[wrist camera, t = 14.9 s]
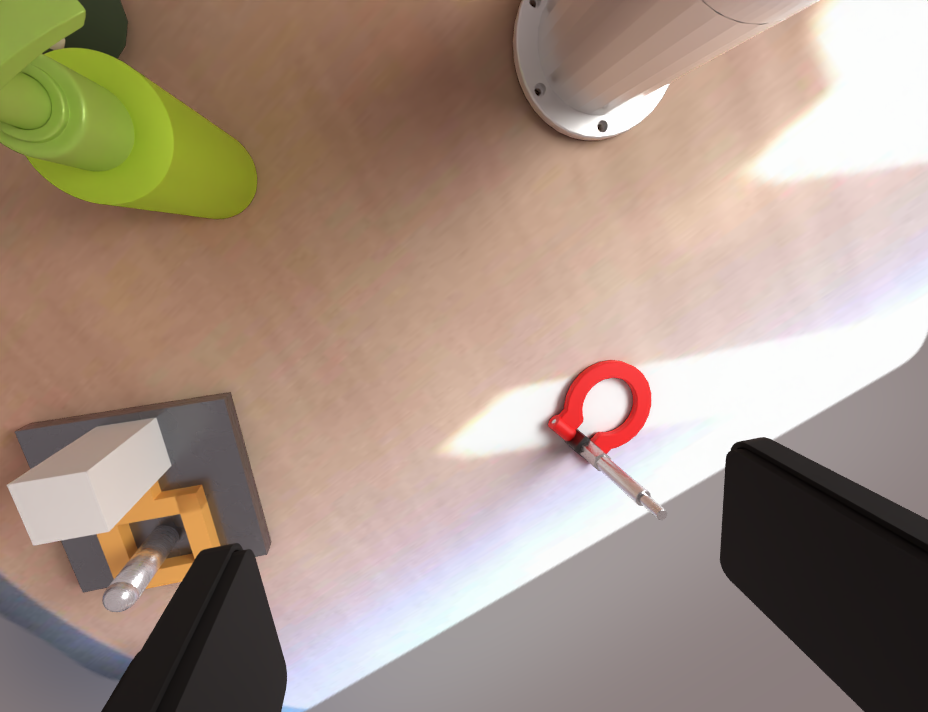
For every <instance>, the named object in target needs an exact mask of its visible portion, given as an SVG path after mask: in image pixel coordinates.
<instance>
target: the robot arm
mask: <svg viewBox="0 0 928 712" xmlns="http://www.w3.org/2000/svg"><path fill="white" fill-rule="evenodd" d="M818 1H820V0H521V3H520V5H519V9H518V13H517V16H516V20H515V25H514V36H513V52H514V63H515V67H516V72H517V76H518V80H519V83H520V85H521V87H522V90H523V92H524V94H525V97H526V98H527V100H528V101H529V103H530V105H531V106H532V108H533V109H534V111H535V112H536V113H537V114H538V115H539V116H540V117H541V118H542V119H543V120H544V121H545V122H546V123H547V124H548V125H550V126H551V127H552V128H554V129H555V130H557V131H558V132H560V133H562V134H565V135H567V136H569V137H572V138H576V139H581V140H603V139H607V138H611V137H615V136H617V135H619V134H621V133H624V132H626V131H628V130H630V129H631V128H633V127H634V126H636V125H638V124H639V123H641V122H642V121H643V120H644V119H645V118H646V117H647V116H648V115H649V114H650V113H651V112H652V111H653V110H654V109H655V107H656V106H657V105H658V103H659V102H660V101H661V99H662V98H663V96H664V94H665V92H666V90H667V89H668V87H669V84H670V83H671V82H673V81H675V80H677V79H678V78H680V77H682V76H684V75H686V74H688V73H689V72H691V71H693V70H695V69H697V68H698V67H700V66H702V65H704V64H706V63H708V62H709V61H711V60H713V59H715V58H717V57H718V56H720V55H722V54H724V53H726V52H727V51H729V50H731V49H733V48H735V47H737V46H738V45H740V44H742V43H744V42H746V41H747V40H749V39H751V38H753V37H755V36H757V35H758V34H760V33H762V32H764V31H766V30H767V29H769V28H771V27H773V26H775V25H777V24H778V23H780V22H782V21H784V20H786V19H787V18H789V17H791V16H793V15H795V14H797V13H798V12H800V11H802V10H803V9H805V8H807V7H809V6H811V5H813V4H814V3H816V2H818ZM530 3H532V4H533V5H534V7H532V6H531V5H530ZM534 90H537V91H538V92H539V96H537V95H536V94H535V91H534ZM597 126H599V128H600V131H598V129H597ZM720 563H721V566H722V569H723V571H724V573H725V574H726V576H727V577H728V578H729V580H730V581H732V583H734V584H735V585H736V587H738V588H739V589H740V590H741V591H742V592H743V593H744V594H745V595H746V596H747V597H748V598H749V599H750V600H751V601H752V602H753V603H754V604H755V605H756V606H757V607H758V608H759V609H760V610H761V611H762V612H763V613H764V614H765V615H766V616H767V617H768V618H769V619H770V620H771V621H772V622H773V623H774V624H775V625H776V626H777V627H778V628H779V629H780V630H782V631H783V632H784V633H785V634H786V635H787V636H788V637H789V638H790V639H791V640H792V641H793V642H794V643H795V644H796V645H797V646H798V647H799V648H800V649H801V650H802V651H803V652H804V653H805V654H806V655H807V656H808V657H809V658H810V659H811V660H812V661H813V662H814V663H815V664H816V665H817V666H818V667H819V668H820V669H821V670H822V671H823V672H824V673H825V674H826V675H827V676H829V677H830V678H831V679H832V680H833V681H834V682H835V683H836V684H837V685H838V686H839V687H840V688H841V689H842V690H843V691H844V692H845V693H846V694H847V695H848V696H849V697H850V698H851V699H852V700H853V701H854V702H855V703H856V704H857V705H858V706H859V707H860V708H861V709H862V710H863V711H864V712H928V520H927V519H925V518H923V517H921V516H920V515H918V514H916V513H914V512H912V511H910V510H908V509H906V508H904V507H902V506H900V505H898V504H896V503H894V502H892V501H890V500H888V499H886V498H884V497H882V496H880V495H879V494H877V493H875V492H873V491H871V490H869V489H867V488H865V487H863V486H861V485H859V484H857V483H855V482H853V481H851V480H849V479H847V478H845V477H843V476H841V475H839V474H837V473H835V472H834V471H831V470H830V469H828V468H826V467H824V466H822V465H820V464H818V463H816V462H814V461H812V460H810V459H808V458H806V457H804V456H802V455H800V454H798V453H796V452H794V451H793V450H791V449H789V448H787V447H785V446H783V445H781V444H779V443H777V442H775V441H773V440H771V439H768V438H765V437H762V438H756V439H751V440H746V441H741V442H737V443H735V444H734V445H733V446H732V448H731V451H730V452H728V454H727V456H726V465H725V483H724V500H723V517H722V533H721V552H720ZM286 684H287V670H286V664H285V660H284V656H283V653H282V649H281V646H280V642H279V639H278V635H277V632H276V628H275V625H274V621H273V618H272V614H271V611H270V607H269V604H268V600H267V597H266V593H265V590H264V586H263V583H262V579H261V576H260V572H259V569H258V565H257V562H256V558H255V555H254V553H253V551H252V550H251V549H247V550H243V548H242V546H241V545H240V544H239V543H233V544H228V545H223V546H218V547H213V548H208V549H204V550H202V551H200V552H199V554H198V555H197V556H196V558H195V560H194V562H193V563H192V565H191V567H190V568H189V570H188V572H187V573H186V575H185V577H184V578H183V580H182V582H181V584H180V585H179V587H178V589H177V590H176V592H175V594H174V595H173V597H172V599H171V600H170V602H169V604H168V606H167V607H166V609H165V611H164V612H163V614H162V616H161V617H160V619H159V621H158V622H157V624H156V626H155V628H154V629H153V631H152V633H151V634H150V636H149V638H148V639H147V641H146V643H145V644H144V646H143V648H142V649H141V651H140V652H138V654H137V655H136V656H135V658H134V659H133V660H132V662H131V663H130V665H129V666H128V668H127V670H126V671H125V673H124V675H123V676H122V678H121V680H120V681H119V683H118V685H117V686H116V688H115V690H114V691H113V693H112V695H111V696H110V698H109V700H108V701H107V703H106V705H105V706H104V708H103V710H102V711H101V712H281V709H282V705H283V700H284V696H285V691H286Z"/></svg>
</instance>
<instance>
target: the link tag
mask: <svg viewBox="0 0 928 712" xmlns="http://www.w3.org/2000/svg"><path fill="white" fill-rule="evenodd" d="M170 467H171V462H170V459H169V456H168V453H167V450H166V447H165V443H164V440H163V437H162V434H161V431H160V428H159V424H158V421H157V418H149V419H143V420H136V421H129V422H123V423H116V424H110V425H103V426H97V427H95V428H94V429H92V430H91V431H89V432H87V433H86V434H84V435H83V436H81V437H80V438H78V439H77V440H75V441H74V442H72V443H71V444H69V445H67V446H66V447H64V448H63V449H61V450H60V451H58V452H57V453H55V454H54V455H52V456H50V457H49V458H47V459H46V460H44V461H43V462H41V463H40V464H38V465H37V466H35V467H33V468H32V469H30V470H29V471H27V472H26V473H24V474H23V475H21V476H20V477H18V478H16V479H15V480H13V481H12V482H10V483H9V484H7V486H8V489H9V491H10V493H11V496H12V498H13V500H14V502H15V505H16V507H17V509H18V512H19V514H20V516H21V518H22V521H23V523H24V525H25V528H26V530H27V532H28V535H29V537H30V539H31V541H32V544H33V546H34V545H40V544H45V543H51V542H56V541H62V540H67V539H72V538H78V537H83V536H89V535H94V534H97V537H98V539H99V542H100V545H101V547H102V550H103V552H104V555H105V557H106V560H107V563H108V565H109V568H110V570H111V573H112V576H113V578H114V579H115V578H116V576H117V575H118V574H119V573H120V571H121V570H122V569H123V567H124V566H125V565H126V564H127V562H128V561H129V560H130V559H131V557H132V556H133V555H134V554H135V552H136V551H137V550H138V548H137V546H136V543H135V540H134V537H133V534H132V532H131V529H130V526H129V523H133V522H138V521H144V520H149V519H155V518H160V517H166V516H171V515H177V514H180V515H181V518H182V521H183V525H184V528H185V531H186V534H187V537H188V540H189V543H190V546H191V549H192V553H193V554H187V555H182V556H177V557H172V558H167V559H165V561H164V562H163V563H162V565H161V566H160V568H159V569H158V571H157V572H156V574H155V575H154V577H153V578H152V580H151V581H150V582H149V584H148V585H147V587H146V588H145V589H148V588H152V587H157V586H162V585H167V584H172V583H177V582H182V580H183V578H184V577H185V575H186V573H187V572H188V570H189V568H190V567H191V565H192V563H193V562H194V560H195V558H196V556H197V555H198V554H199V552H200V551H202V550H204V549H208V548H213V547H218V546H220V543H219V539H218V536H217V533H216V529H215V526H214V523H213V519H212V516H211V513H210V509H209V506H208V502H207V499H206V496H205V492H204V489H203V486H202V485H196V486H191V487H185V488H179V489H174V490H168V491H162V492H161V489H160V486H159V483H158V479H159V478H160V477H161V476H162V475H163V474H164V473H165V472H166V471H167V470H168V469H169V468H170Z"/></svg>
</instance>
